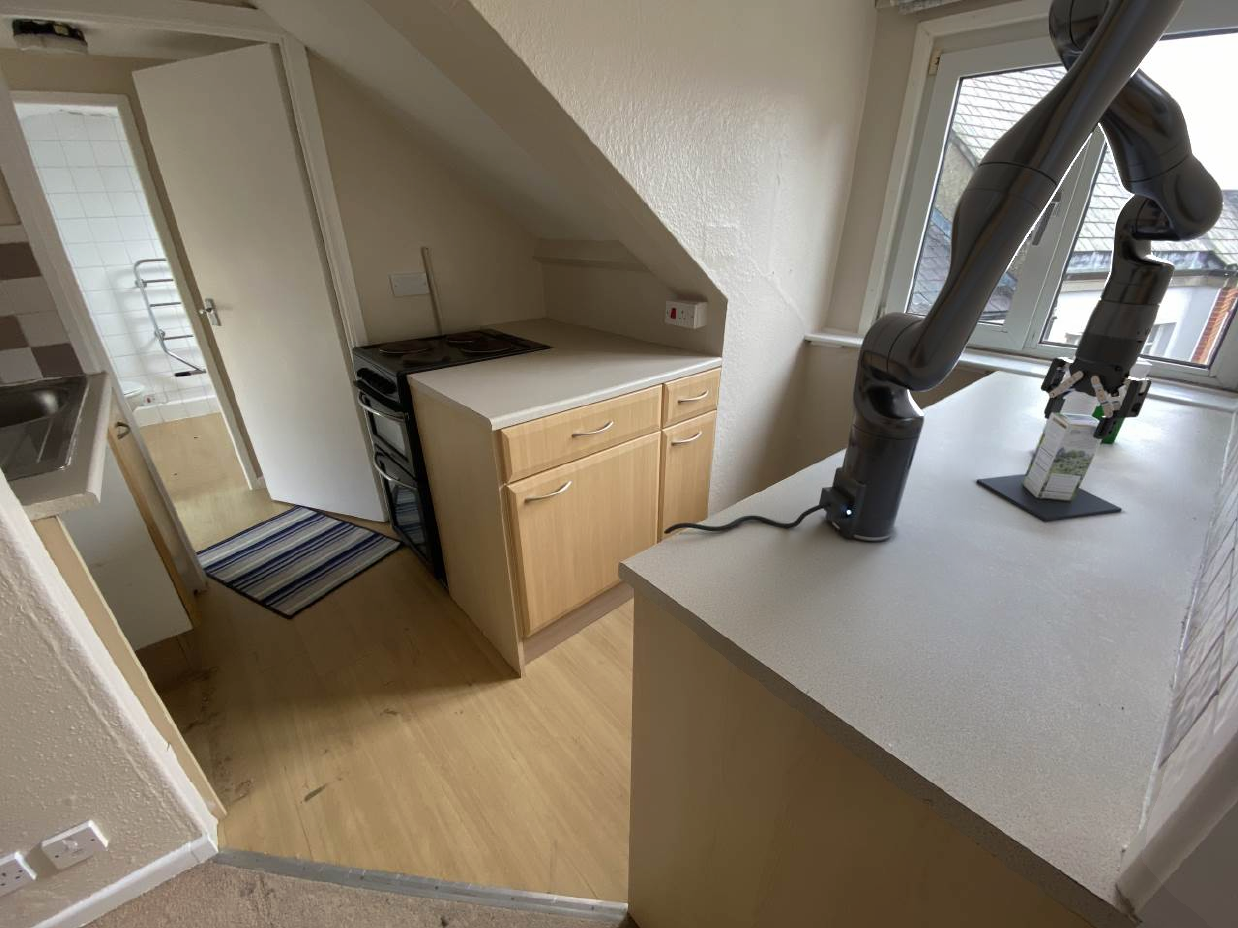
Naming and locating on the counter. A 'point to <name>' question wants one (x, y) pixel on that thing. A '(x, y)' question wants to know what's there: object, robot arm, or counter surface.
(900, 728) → the counter surface
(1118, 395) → the robot arm
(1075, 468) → the syrup box
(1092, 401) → the water bottle
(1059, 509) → the mat
